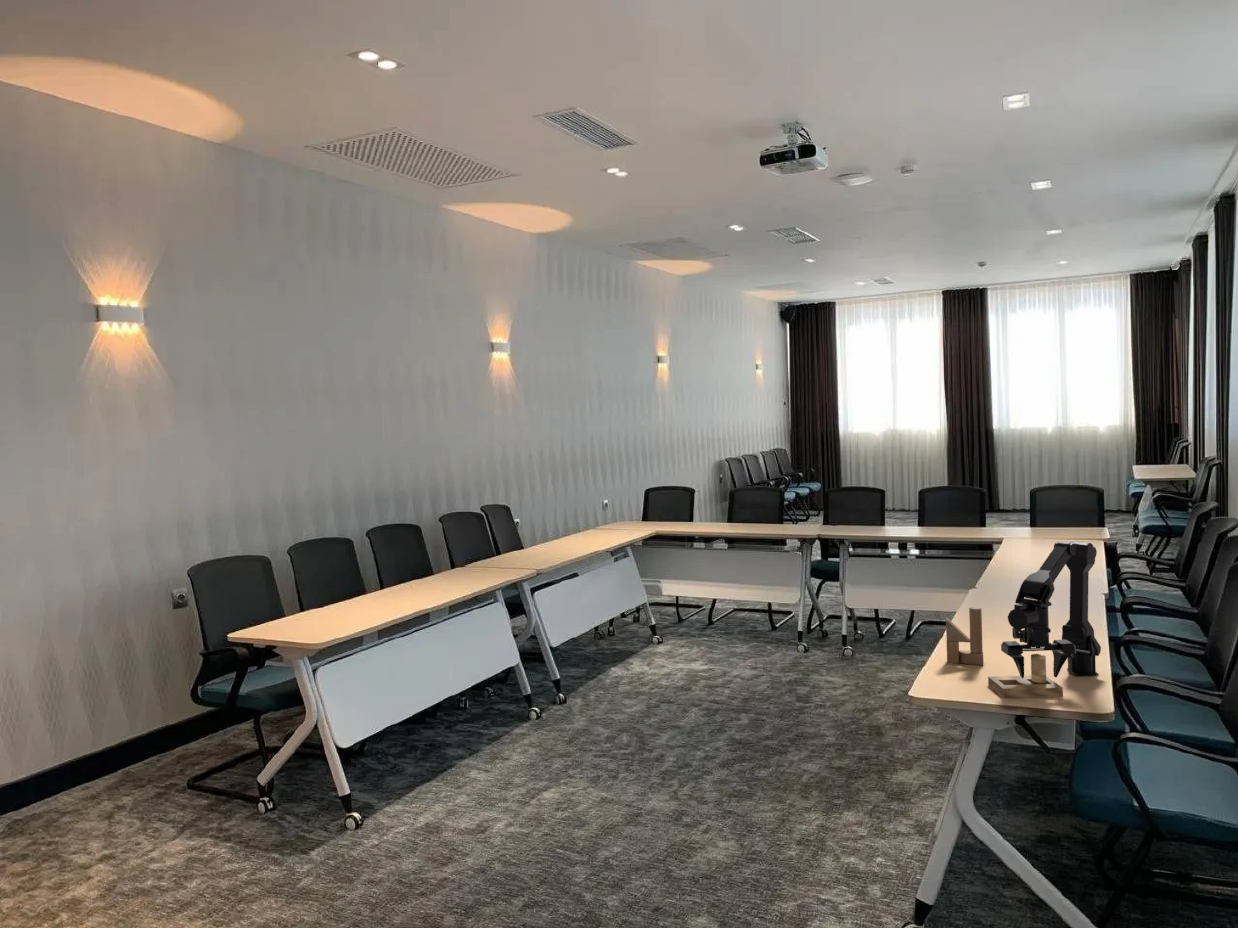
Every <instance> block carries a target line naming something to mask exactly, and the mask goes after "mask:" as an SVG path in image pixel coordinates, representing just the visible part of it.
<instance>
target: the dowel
mask: <svg viewBox="0 0 1238 928" xmlns="http://www.w3.org/2000/svg"><path fill="white" fill-rule="evenodd" d="M1046 656H1047V655H1045V654H1042V653H1032V654H1030V671H1031V672H1030V674H1031V682H1032V684H1046V677H1047V663H1046V662H1047V661H1046V660H1047V658H1046Z"/></svg>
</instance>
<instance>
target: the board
mask: <svg viewBox="0 0 1238 928" xmlns="http://www.w3.org/2000/svg"><path fill="white" fill-rule="evenodd" d="M987 679H988V680H987V681H988V682H987V684H988V686H989V687H990V688H991V689H992V690H994V691H995V692H996V693H997V694H999V695H1000V696H1001V697H1002V698H1003V699H1014V698H1015V699H1017V698H1018V699H1019V698H1020V699H1022V698H1054V697H1056V698H1057V697H1061V698H1062V697H1064V688H1063V686H1061V685H1059V684H1058V683H1057V682H1055V681H1054V680H1052V679H1051V678H1049V677H1048V676H1046V684H1032V682H1031V675H1027V674H1026V675H1024V678H1021V676H1020V675H999V676H998V675H997V676H987Z"/></svg>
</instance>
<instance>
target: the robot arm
mask: <svg viewBox="0 0 1238 928" xmlns="http://www.w3.org/2000/svg"><path fill="white" fill-rule="evenodd" d="M1097 553H1098V552H1097V548H1096V547H1095V546H1094V545H1093V543H1092V542H1086V541H1085V542H1084V541H1071V540H1070V541H1061V540H1060V541H1056V542H1055V543H1054V545H1053V548H1052V550H1051V552H1050V553H1049V554H1048V556H1047V558H1046V559H1045V560H1044V562H1043V563H1042V564H1041V566H1040V568H1038V570H1037V571H1036V572H1033V573H1031V574H1028V575H1027V577H1026V578H1024V580H1023V581H1022V583H1021V584H1020V587H1019V590H1018V593H1017V596H1016V599H1015V604H1014V607H1013V609H1011V610H1010V611H1009V613H1008V615H1007V621H1008V624H1009V625H1010V626H1011V627H1012V628H1011V631H1012V632H1011V633H1012V639H1014V640H1013V641H1012V640H1009V641H1002V643H1001V645H1000V647H1001V652H1002V653H1004V654H1005V655H1007V656H1009V657H1011V658H1012V660H1013V661H1014V663H1015V665H1016V668H1017V671H1018V673H1019V676H1021V678H1024V676H1025V656H1024V655H1022V654H1023V653H1024V652H1039V651H1040V652H1041V651H1045V652H1046V651H1048V652H1049V651H1051V652H1052V655H1053V677H1054V678H1058V676H1059V674H1060V672H1061V669H1062V668H1063V666H1064V664H1065V662H1066V661H1067V668H1066V670H1067V671H1068V672H1069V673H1071V674H1073V675H1074V676H1078V677H1079V676H1082V677H1085V676H1099V673H1098V672H1097V671H1096V657H1098V656H1100V654H1101V649H1102V646H1101V645H1100V643H1099V642H1098V640H1097V639H1096V637H1095V630H1094V628H1093V626H1092V624H1091V623H1090V621H1089V574H1090V573H1089V572H1090V571H1091V569H1092V568H1093V566H1094V565H1095V564H1096V557H1097ZM1065 566H1066V567H1067V569H1068V570H1069V618H1068V619H1069V620H1068V621H1066V623H1065V624H1063V625H1062V626H1061V627H1062V628H1061V630H1062V633H1061V639H1054V640H1053V641H1052V643H1051V642H1050V633H1051V632H1052V631H1051V629H1052V628H1050V626H1049V607H1050V606H1052V602H1051V601H1050V599H1051V598H1052V596H1053V594H1054V591H1055V580H1056V579H1057V578H1058V577H1059V575H1060V573H1061V572H1062V570H1063V569H1064V567H1065ZM1016 639H1018V640H1019V642H1020V643H1021V644H1020V643H1019V642H1018V641H1015V640H1016ZM1022 643H1023V644H1022Z"/></svg>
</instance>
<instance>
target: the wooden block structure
mask: <svg viewBox="0 0 1238 928" xmlns="http://www.w3.org/2000/svg"><path fill="white" fill-rule="evenodd" d="M968 609H969V611H968V612H969V613H968V614H969V617H968V618H969V637H968V636H967V635H966V634H965V633H964V632H963V631H962V630H961V629H960V628H959V627H958V626H957V625H956V624H955V623H954V622H953V621H951V619H949V618H948V617H946V618H945V629H946V630H945V631H946V662H947V663H946V664H952V665H953V664H956V665H959V664H964V665H971V666H972V665H973V666H976V665H977V666H984V650H983V623H982V622H983V620H982V619H983V618H982V611H983V610H982V608H981V607H979V606H971V607H969V608H968ZM959 643H969V644H970V645H969V648H970V649H969V650H961V649H960V644H959Z"/></svg>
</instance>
